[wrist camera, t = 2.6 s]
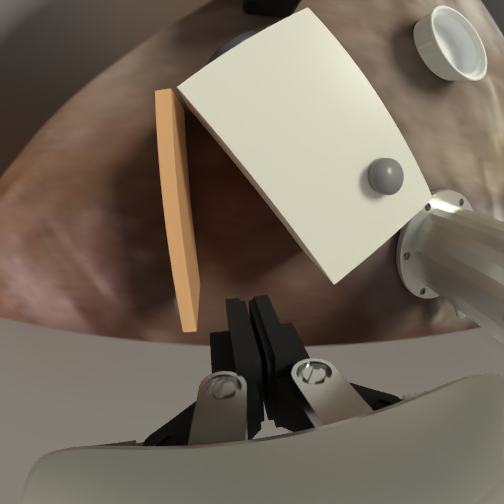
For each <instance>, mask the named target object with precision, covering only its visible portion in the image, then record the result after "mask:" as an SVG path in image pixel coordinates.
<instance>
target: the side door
mask: <svg viewBox="0 0 504 504" xmlns="http://www.w3.org/2000/svg"><path fill="white" fill-rule="evenodd" d="M155 102H156V125H157V142H158V156H159V168H160V179H161V189H162V199H163V208H164V216H165V224H166V232H167V239H168V247H169V254H170V260H171V267H172V273H173V279H174V285H175V295H174V299H173V300H174V305H175V311H176V315H180V318H181V323H182V328H183V332H193V331H197V319H198V305H199V293H200V278H199V270H198V262H197V254H196V246H195V237H194V228H193V219H192V209H191V198H190V187H189V175H188V163H187V149H186V134H185V116H184V109H183V107H182V106H181V104H180V102H179V101H178V99H177V98H176V96H175V94H174V93H173V91H172V90H171V89H164V90H157V91H155Z"/></svg>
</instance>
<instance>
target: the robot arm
mask: <svg viewBox="0 0 504 504" xmlns="http://www.w3.org/2000/svg"><path fill="white" fill-rule="evenodd" d="M430 193H431V195H432V197H433V199H432V200H431V201H430V202H429V203H428V204H426V205H425V206H424V207H423V208H422V209H421V210H420V211H419V212H418V213H417V214H416V215H415V216H414V217H413V218H411V219H410V220H409V221H408V222H407V223H406V224H405V225H404V226H403V227H402V228H401V231H400V235H399V238H398V244H397V251H396V263H397V269H398V274H399V276H400V279H401V281H402V283H403V284H404V286H405V287H406V288H407V289H408V290H409V291H410V292H411V293H413V294H414V295H416V296H417V297H420V298H424V299H432V298H436V297H439V296H441V297H442V298H444V299H445V300H446V301H448V302H449V303H451V304H452V305H453V306H454V309H455V312H456V316H457V317H458V318H465V317H466V316H468V317H469V318H471V319H472V320H473V321H474V322H476V323H477V324H478V325H480V326H481V327H482V328H483V329H485V330H486V331H487V332H489V333H490V334H491V335H492V336H494V337H495V338H496V339H497V340H499V341H500V342H501V343H503V344H504V222H502V221H499V220H497V219H494V218H491V217H488V216H485V215H482V214H479V213H476V212H473V209H472V207H471V205H470V204H469V202H468V201H467V199H466V198H465V197H464V196H463V195H461V194H460V193H458V192H456V191H452V190H448V189H438V190H434V191H432V192H430ZM225 300H226V310H227V319H228V328H229V331H223V332H214V333H210V347H211V365H212V374H210V375H208V376H207V377H205V378H204V379H203V380H202V381H201V384H200V386H199V390H198V395H197V400H196V402H194V403H193V404H192V405H190V406H189V407H188V408H187V409H185V410H184V411H182V412H181V413H180V414H179V415H177V416H176V417H175V418H173V419H172V420H170V421H169V422H168V423H166V424H165V425H164V426H162V427H161V428H160V429H158V430H157V431H155V432H154V433H152V434H151V435H150V436H149V437H148V438H147V439H146V440H145V442H141V443H137V442H136V440H134V441H127V442H119V443H111V444H104V445H103V444H102V445H92V446H81V447H71V448H66V449H61V450H56V451H53V452H50V453H47V454H45V455H43V456H42V457H40V458H39V459H38V460H37V461H35V462H34V464H33V465H32V466H31V468H30V469H29V471H28V473H27V475H26V477H25V479H24V481H23V484H22V486H21V488H20V491H19V494H18V497H17V500H16V504H504V375H501V374H495V373H485V374H476V375H472V376H467V377H464V378H461V379H458V380H455V381H452V382H449V383H447V384H444V385H442V386H439V387H437V388H434V389H432V390H430V391H425V392H419V393H414V394H408V395H403V398H402V399H400V398H398V397H397V396H394V395H392V394H387V393H384V392H380V391H376V390H373V389H370V388H366V387H363V386H359V385H356V384H353V383H349V382H348V381H347V380H346V379H345V378H344V377H343V375H342V374H341V373H340V372H339V371H338V370H337V369H336V367H335V366H334V365H333V364H331V363H330V362H328V361H326V360H323V359H319V358H310V357H309V355H308V353H307V351H306V350H305V348H304V346H303V344H302V342H301V340H300V338H299V336H298V334H297V332H296V330H295V328H294V326H293V324H292V323H286V324H280V322H279V320H278V318H277V315H276V313H275V311H274V308H273V306H272V304H271V302H270V299H269V297H268V295H260V296H254V297H253V300H249V314H250V318H249V314H248V311H247V307H246V303H245V301H240V300H239V298H234V299H225ZM263 401H264V405H265V409H266V413H267V417H268V420H274V422H275V426H276V427H284V428H286V429H288V430H289V433H287V434H282V435H277V436H271V437H265V438H258V439H252V438H253V437H254V436H255V435H256V434H257V433H258V432H259V431H260V430H261V422H262V421H264V405H263Z"/></svg>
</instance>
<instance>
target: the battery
mask: <svg viewBox="0 0 504 504" xmlns="http://www.w3.org/2000/svg"><path fill="white" fill-rule="evenodd" d="M300 1H301V0H244V1H243V10H244V12H246V13H253V14H262V15H270V16H277V17H284V18H287V17H289V16H291V15H292V14H293V12H294V11H295V9H296V8H297V6H298V4H299V3H300Z"/></svg>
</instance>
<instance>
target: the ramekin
mask: <svg viewBox="0 0 504 504" xmlns="http://www.w3.org/2000/svg"><path fill="white" fill-rule="evenodd" d="M413 36H414V42H415V46H416V48H417V51H418V53H419V55H420V57H421V58H422V60H423V62H424V63H425V64H426V66H427V67H428V68H429V69H430V70H431V71H432V72H433V73H434V74H436V75H437V76H439V77H440V78H442V79H445V80H449V81H455V80H470V81H478V80H480V79H482V78H483V77H484V75H485V73H486V70H487V57H486V52H485V49H484V46H483V43H482V41H481V39H480V37H479V35H478V33H477V32H476V30H475V29H474V27H473V26H472V25H471V24H470V22H469V21H468V20H467V19H466V18H465V17H464V16H463V15H461V14H460V13H459V12H457V11H456V10H454V9H452V8H450V7H447V6H437V7H435V8H434V9H433V10H432V11H431V12H430V13H429V14H428V15H426V16H425V17H423V18H422V19H420V20H419V21H418V22H417V23H416V25H415V27H414V31H413Z"/></svg>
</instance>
